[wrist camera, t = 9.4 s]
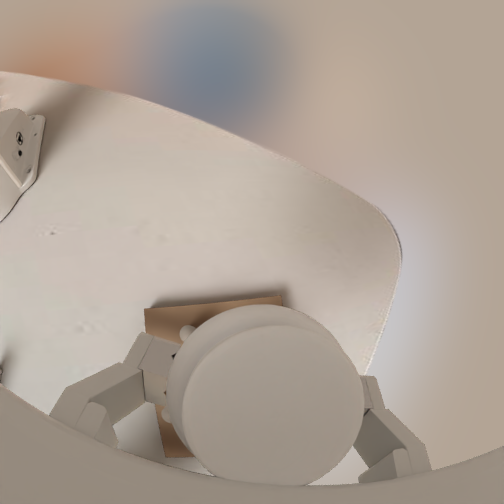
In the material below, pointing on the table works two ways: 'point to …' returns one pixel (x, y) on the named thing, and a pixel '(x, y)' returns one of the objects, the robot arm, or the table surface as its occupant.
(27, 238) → the table surface
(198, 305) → the peg stand
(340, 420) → the supplement bottle
